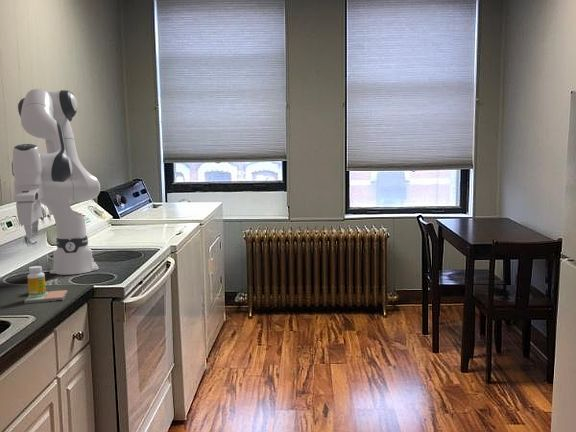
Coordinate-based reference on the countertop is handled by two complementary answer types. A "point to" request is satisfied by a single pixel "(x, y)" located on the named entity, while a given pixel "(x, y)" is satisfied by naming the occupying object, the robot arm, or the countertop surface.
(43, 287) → the supplement bottle
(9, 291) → the countertop surface
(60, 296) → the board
